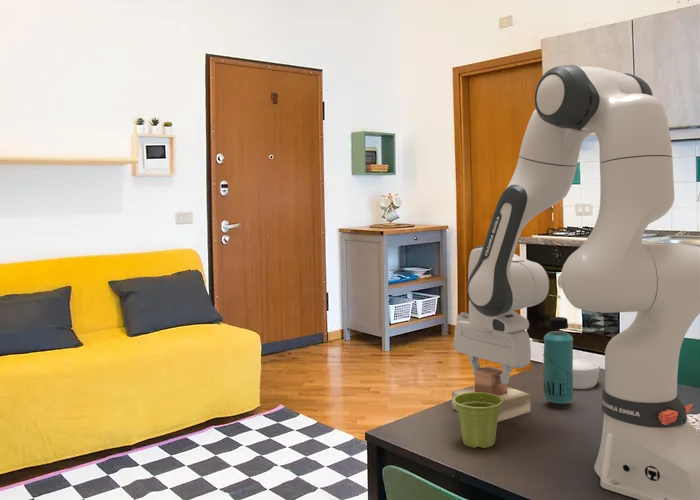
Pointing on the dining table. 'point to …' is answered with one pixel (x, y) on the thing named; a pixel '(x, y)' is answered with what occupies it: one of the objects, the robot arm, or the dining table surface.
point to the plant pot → (478, 417)
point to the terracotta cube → (489, 381)
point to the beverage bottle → (558, 363)
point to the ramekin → (585, 373)
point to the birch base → (504, 402)
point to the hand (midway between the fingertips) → (490, 379)
